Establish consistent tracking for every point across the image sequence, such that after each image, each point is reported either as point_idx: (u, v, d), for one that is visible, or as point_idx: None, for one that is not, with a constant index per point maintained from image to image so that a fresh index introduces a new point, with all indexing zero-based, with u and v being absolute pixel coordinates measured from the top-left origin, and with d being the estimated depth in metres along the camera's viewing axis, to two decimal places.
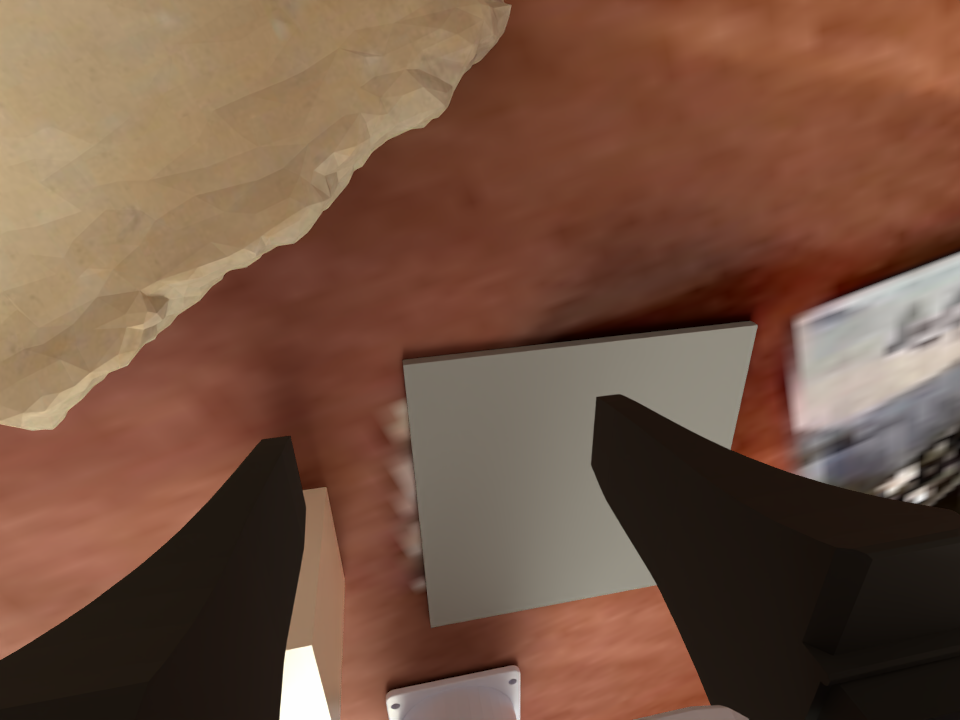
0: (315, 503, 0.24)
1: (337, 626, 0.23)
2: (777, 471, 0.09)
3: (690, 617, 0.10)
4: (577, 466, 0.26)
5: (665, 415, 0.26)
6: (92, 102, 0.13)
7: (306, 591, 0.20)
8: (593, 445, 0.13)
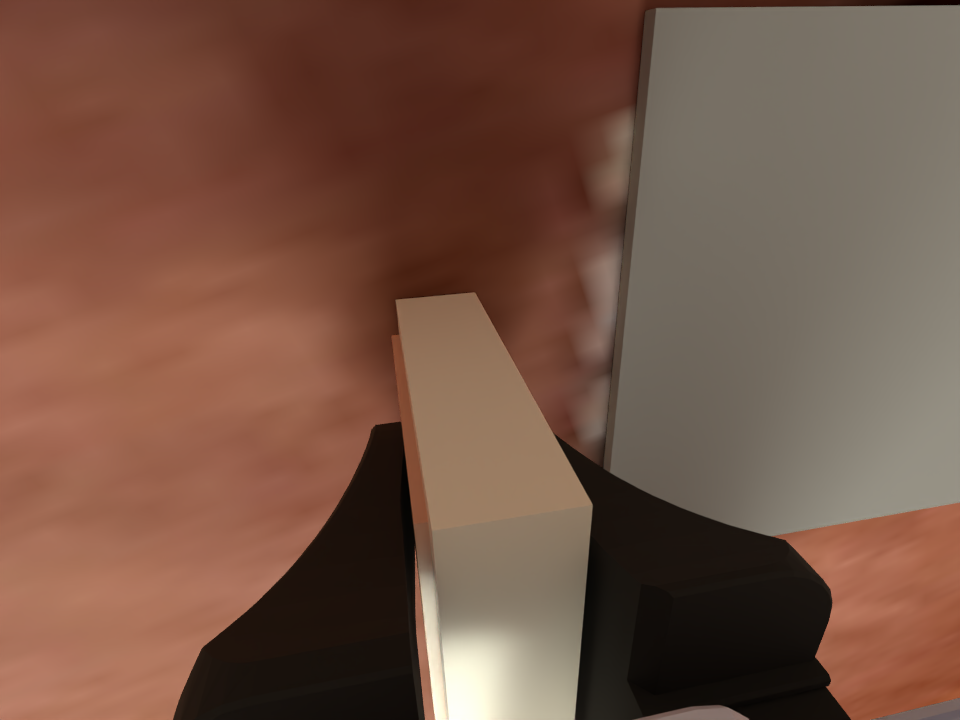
0: (466, 308, 0.13)
1: None
2: (639, 493, 0.09)
3: None
4: (885, 279, 0.15)
5: None
6: None
7: (518, 414, 0.09)
8: None
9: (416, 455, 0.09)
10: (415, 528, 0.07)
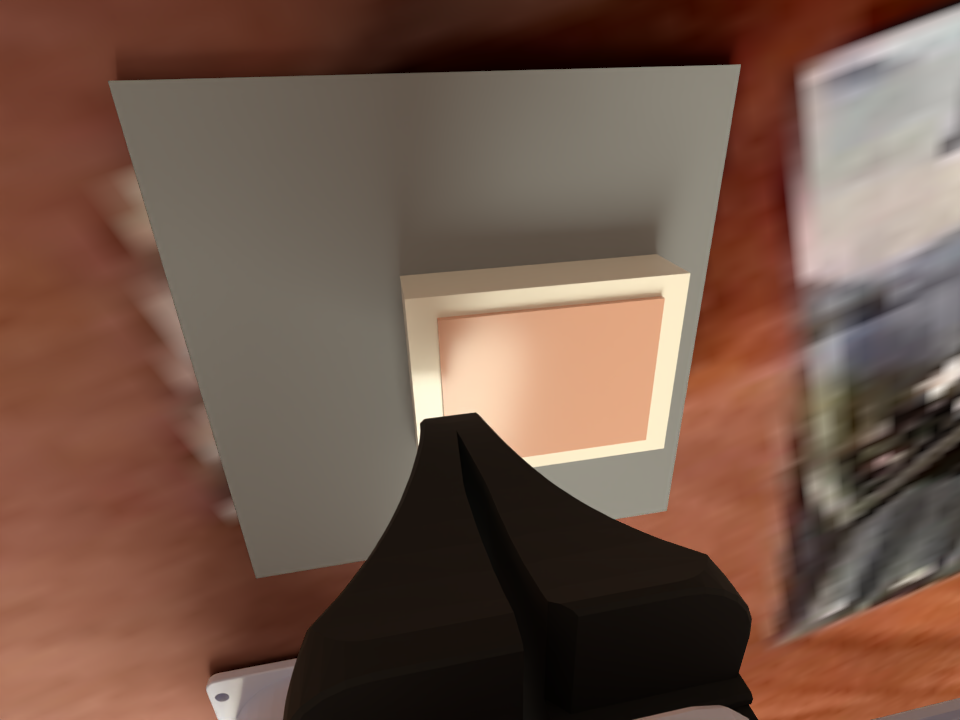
0: (436, 277, 0.16)
1: None
2: (575, 503, 0.08)
3: None
4: None
5: (595, 229, 0.16)
6: None
7: (593, 263, 0.16)
8: None
9: (610, 301, 0.15)
10: (664, 300, 0.15)
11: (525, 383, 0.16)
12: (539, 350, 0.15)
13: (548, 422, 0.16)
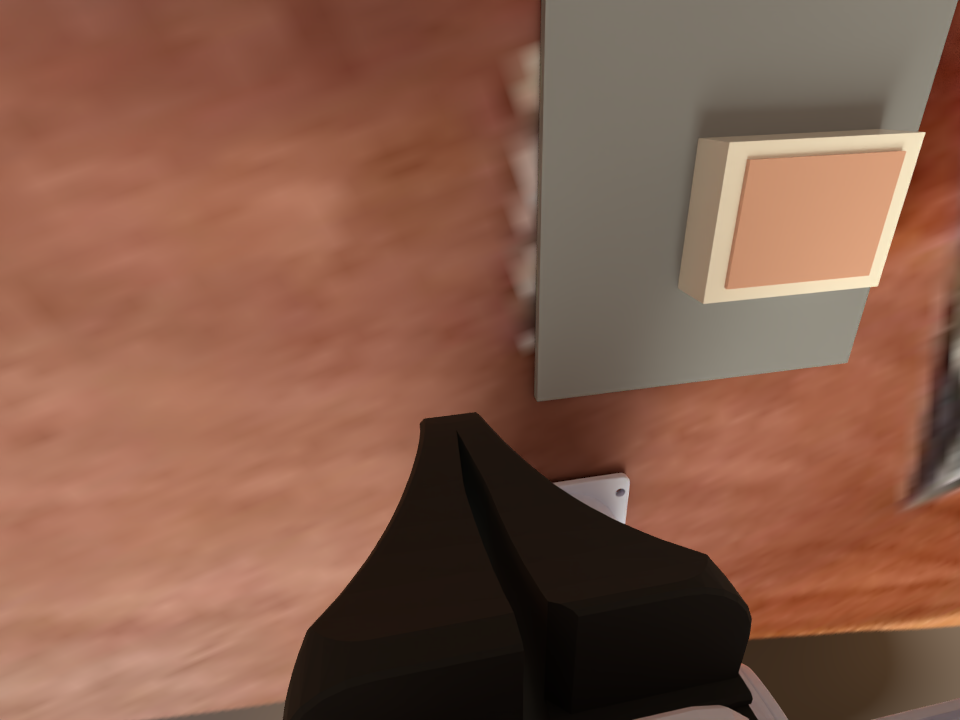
0: (729, 137, 0.21)
1: None
2: (575, 503, 0.08)
3: None
4: None
5: (841, 105, 0.21)
6: None
7: (839, 131, 0.21)
8: None
9: (866, 152, 0.20)
10: (905, 153, 0.20)
11: (796, 218, 0.21)
12: (812, 190, 0.20)
13: (804, 254, 0.21)
